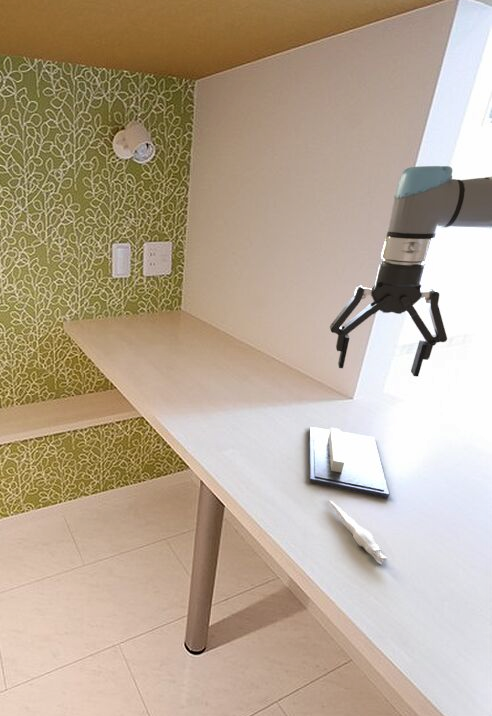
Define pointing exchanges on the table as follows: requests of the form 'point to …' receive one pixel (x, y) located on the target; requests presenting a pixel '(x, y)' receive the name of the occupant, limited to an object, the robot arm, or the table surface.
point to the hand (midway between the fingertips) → (376, 370)
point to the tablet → (347, 463)
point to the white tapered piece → (360, 535)
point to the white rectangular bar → (336, 450)
